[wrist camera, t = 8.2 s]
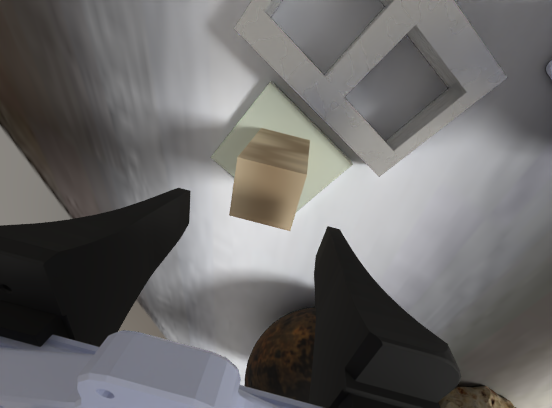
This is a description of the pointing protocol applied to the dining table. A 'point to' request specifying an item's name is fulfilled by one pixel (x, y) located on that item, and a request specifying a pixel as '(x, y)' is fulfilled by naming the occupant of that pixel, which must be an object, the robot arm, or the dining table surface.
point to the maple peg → (270, 178)
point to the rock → (474, 398)
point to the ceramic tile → (289, 120)
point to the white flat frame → (367, 54)
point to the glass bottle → (284, 357)
